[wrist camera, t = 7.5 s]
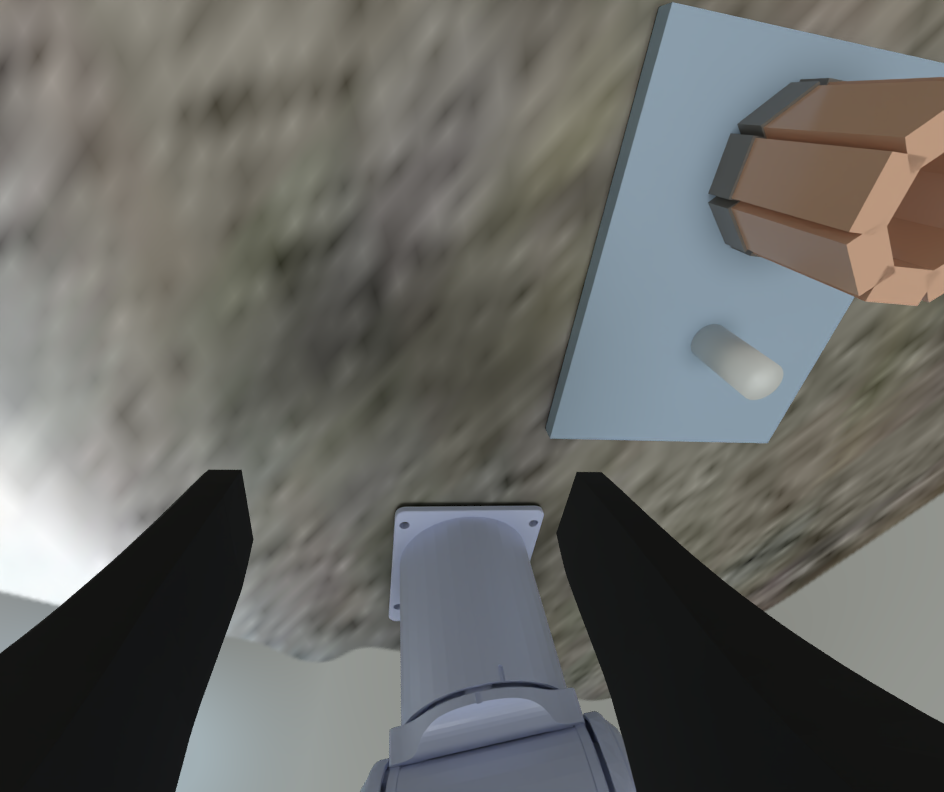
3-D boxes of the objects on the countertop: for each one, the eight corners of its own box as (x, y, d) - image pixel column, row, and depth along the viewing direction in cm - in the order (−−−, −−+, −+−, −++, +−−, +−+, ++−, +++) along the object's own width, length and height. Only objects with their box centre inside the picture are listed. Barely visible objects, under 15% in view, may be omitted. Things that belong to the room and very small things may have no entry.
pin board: (757, 433, 25) (819, 490, 21) (545, 428, 22) (574, 490, 19) (963, 74, 16) (1124, 66, 13) (659, 6, 14) (749, -26, 10)
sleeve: (809, 255, 18) (964, 313, 13) (689, 243, 17) (809, 300, 12) (891, 96, 16) (1125, 94, 11) (753, 70, 15) (940, 54, 10)
